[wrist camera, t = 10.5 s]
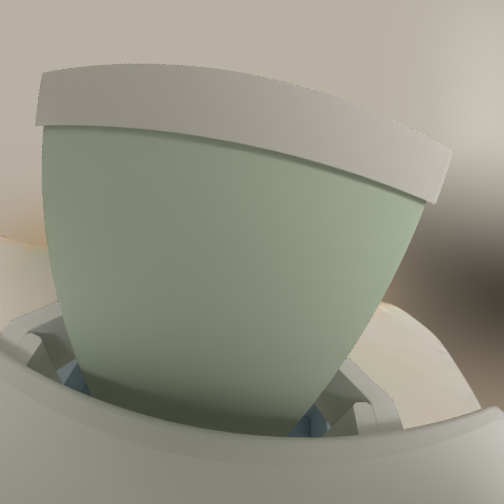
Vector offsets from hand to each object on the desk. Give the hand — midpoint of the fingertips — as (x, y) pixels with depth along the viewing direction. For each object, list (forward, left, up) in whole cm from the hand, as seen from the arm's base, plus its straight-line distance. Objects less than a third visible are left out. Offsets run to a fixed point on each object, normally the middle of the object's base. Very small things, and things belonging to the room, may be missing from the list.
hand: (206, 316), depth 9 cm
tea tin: (+1, -1, -8) cm, 8 cm away
